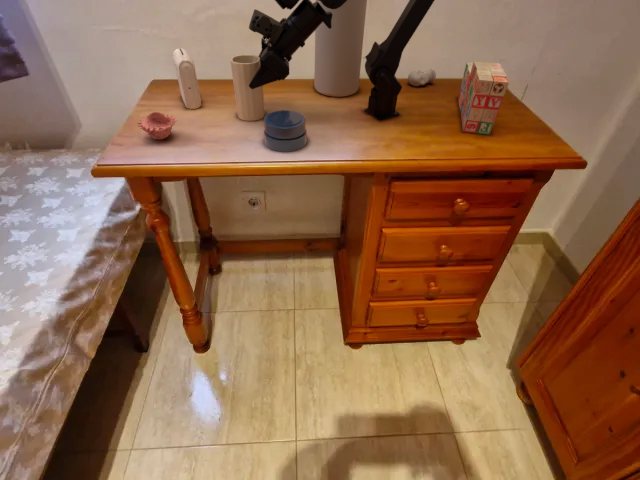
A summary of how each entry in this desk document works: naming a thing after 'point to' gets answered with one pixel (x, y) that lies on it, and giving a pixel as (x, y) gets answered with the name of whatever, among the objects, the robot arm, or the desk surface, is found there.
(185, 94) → the photo printer
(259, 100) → the cup
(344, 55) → the cylinder vase
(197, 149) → the desk surface
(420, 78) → the smooth white sculpture
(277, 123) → the round ridged metallic base
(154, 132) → the pink clay bowl
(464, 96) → the stack of blocks
